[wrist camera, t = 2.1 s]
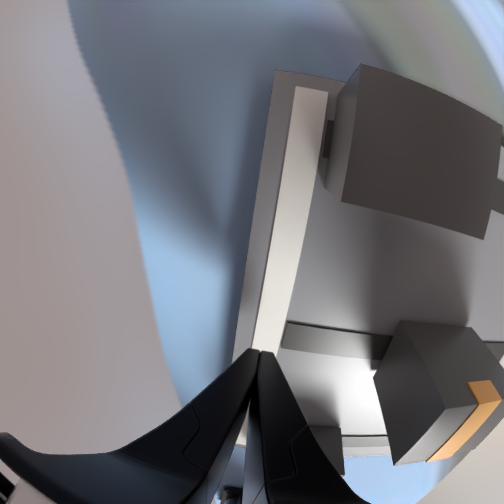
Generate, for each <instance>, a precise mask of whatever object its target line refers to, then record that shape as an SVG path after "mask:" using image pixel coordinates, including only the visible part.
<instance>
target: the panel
mask: <svg viewBox="0 0 504 504" xmlns="http://www.w3.org/2000/svg"><path fill="white" fill-rule="evenodd" d="M501 140H502V126H501V125H500V124H498V123H497V122H495V121H494V120H492V119H490V118H489V117H487V116H485V115H484V114H482V113H480V112H478V111H476V110H475V109H473V108H471V107H469V106H467V105H465V104H464V103H462V102H460V101H458V100H456V99H454V98H452V97H450V96H447V95H445V94H443V93H441V92H439V91H437V90H434V89H432V88H430V87H427V86H425V85H422V84H420V83H418V82H415V81H412V80H410V79H407V78H404V77H402V76H399V75H396V74H393V73H390V72H387V71H384V70H381V69H378V68H374V67H371V66H367V65H364V64H360V65H359V67H358V68H357V69H356V71H355V72H354V73H353V75H352V76H351V77H350V79H349V80H348V81H347V83H346V82H341V81H337V80H333V79H328V78H323V77H318V76H313V75H307V74H301V73H295V72H288V71H281V70H275V74H274V80H273V87H272V93H271V100H270V106H269V113H268V119H267V126H266V133H265V139H264V146H263V152H262V159H261V166H260V173H259V179H258V186H257V193H256V199H255V206H254V213H253V220H252V227H251V233H250V240H249V247H248V254H247V261H246V268H245V274H244V281H243V288H242V295H241V302H240V309H239V316H238V323H237V330H236V337H235V344H234V351H233V358H232V363H233V362H234V361H235V360H236V359H237V358H238V357H239V356H240V355H241V354H242V353H243V352H244V351H245V350H246V349H247V348H253V349H258V350H260V352H261V351H262V350H264V351H270V352H273V353H274V355H275V357H276V359H277V361H278V363H279V365H280V367H281V369H282V372H283V374H284V376H285V378H286V380H287V382H288V384H289V386H290V388H291V390H292V392H293V394H294V396H295V398H296V400H297V402H298V404H299V406H300V408H301V410H302V412H303V414H304V416H305V418H306V420H307V422H308V425H309V426H310V428H311V430H312V432H313V434H314V436H315V438H316V440H317V441H318V443H319V445H320V447H321V448H322V450H323V451H324V453H325V454H326V456H327V457H328V459H329V460H330V461H331V463H332V464H333V466H334V467H335V468H336V470H337V471H338V472H339V474H340V475H341V476H342V477H343V476H344V475H345V471H344V458H343V457H358V456H380V455H391V450H390V446H389V441H388V437H387V432H386V428H385V424H384V419H383V415H382V411H381V407H380V403H379V400H378V396H377V392H376V388H375V385H374V381H373V376H374V374H375V373H376V371H377V369H378V367H379V365H380V363H381V361H382V359H383V357H384V355H385V353H386V351H387V349H388V347H389V345H390V343H391V341H392V338H393V336H394V334H395V332H396V330H397V327H398V325H399V323H400V320H405V321H413V322H422V323H432V324H441V325H452V326H463V327H472V328H473V329H474V331H475V332H476V333H477V334H478V336H479V337H480V338H481V339H482V341H483V342H484V343H485V344H486V346H487V347H488V348H489V349H490V351H491V352H492V353H493V355H494V356H495V357H496V359H497V360H498V361H499V363H500V364H501V366H502V367H503V368H504V147H502V146H501ZM249 404H250V403H249ZM248 410H249V408H248ZM247 421H248V411H247V414H246V417H245V420H244V423H243V425H242V428H241V431H240V433H239V436H238V438H237V441H236V444H235V446H239V447H244V448H246V437H247Z"/></svg>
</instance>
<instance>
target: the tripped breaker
mask: <svg viewBox="0 0 504 504" xmlns="http://www.w3.org/2000/svg"><path fill="white" fill-rule="evenodd" d="M373 381H374V385H375V388H376V392H377V396H378V400H379V403H380V407H381V411H382V415H383V419H384V424H385V428H386V432H387V437H388V441H389V446H390V450H391V455H392V460H393V465H402V464H410V463H416V462H422V461H426V462H431V461H436V460H441V459H445V458H449V457H451V456H452V455H455V454H459V453H463V452H466V451H470V450H473V449H475V448H476V447H477V446H478V445H479V444H480V443H481V442H482V441H483V440H484V439H485V438H486V437H487V436H488V435H489V433H490V432H491V431H492V430H493V429H494V428H495V427H496V426H497V425H498V423H499V422H500V421H501V420H502V419H503V418H504V368H503V367H502V366H501V364H500V363H499V361H498V360H497V359H496V357H495V356H494V355H493V353H492V352H491V351H490V349H489V348H488V347H487V346H486V344H485V343H484V342H483V341H482V339H481V338H480V337H479V336H478V334H477V333H476V332H475V331H474V329H473V328H472V327H463V326H452V325H441V324H432V323H422V322H413V321H405V320H400V323H399V325H398V327H397V330H396V332H395V334H394V336H393V338H392V341H391V343H390V345H389V347H388V349H387V351H386V353H385V355H384V357H383V359H382V361H381V363H380V365H379V367H378V369H377V371H376V373H375V374H374V376H373Z"/></svg>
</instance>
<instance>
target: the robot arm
mask: <svg viewBox="0 0 504 504" xmlns="http://www.w3.org/2000/svg"><path fill="white" fill-rule="evenodd" d="M249 403H250V404H249ZM248 408H249V410H248ZM247 411H248V421H247V437H246V452H245V468H244V483H243V490H241V489H235V488H229V487H225V488H224V490H223V494H222V499H221V503H220V504H371V503H369V502H367V501H365V500H363V499H362V498H360V497H359V496H358V495H356V494H355V493H354V492H353V491H352V489H351V488H350V487H349V486H348V484H347V483H346V482H345V480H344V479H343V478H342V476H341V475H340V474H339V472H338V471H337V470H336V468H335V467H334V466H333V464H332V463H331V461H330V460H329V459H328V457H327V456H326V454H325V453H324V451H323V450H322V448H321V447H320V445H319V443H318V441H317V440H316V438H315V436H314V434H313V432H312V430H311V428H310V426H309V425H308V422H307V420H306V418H305V416H304V414H303V412H302V410H301V408H300V406H299V404H298V402H297V400H296V398H295V396H294V394H293V392H292V390H291V388H290V386H289V384H288V382H287V380H286V378H285V376H284V374H283V372H282V369H281V367H280V365H279V363H278V361H277V359H276V357H275V355H274V353H273V352H270V351H264V350H262V351H261V352H260V350H258V349H253V348H247V349H246V350H245V351H244V352H243V353H242V354H241V355H240V356H239V357H238V358H237V359H236V360H235V361H234V362H233V363H232V364H231V365H230V366H229V367H228V368H227V369H225V370H224V371H223V372H222V373H221V374H220V375H219V376H218V377H217V378H216V379H215V380H214V381H213V382H212V383H210V384H209V385H208V386H207V387H206V388H205V389H204V390H203V391H202V392H201V393H199V394H198V395H197V396H196V397H195V398H194V399H193V400H192V401H191V402H190V403H188V404H187V405H186V406H185V407H184V408H182V409H181V410H180V411H179V412H178V413H176V414H175V415H174V416H173V417H171V418H170V419H169V420H167V421H166V422H164V423H163V424H161V425H160V426H158V427H157V428H155V429H153V430H152V431H150V432H149V433H147V434H145V435H143V436H142V437H140V438H138V439H136V440H135V441H133V442H131V443H129V444H128V445H126V446H124V447H122V448H120V449H117V450H115V451H111V452H107V453H98V454H76V455H55V454H43V453H39V452H36V451H33V450H31V449H29V448H27V447H26V446H24V445H23V444H22V443H20V442H19V441H18V440H17V439H16V438H15V437H13V436H12V435H10V434H9V433H6V432H3V433H0V459H1V460H2V461H3V462H4V463H5V464H6V465H7V466H8V467H9V468H10V469H11V470H12V471H13V472H14V473H15V474H17V475H18V476H19V477H20V480H19V481H18V483H17V484H16V486H15V485H14V484H13V483H12V482H11V481H10V480H9V479H7V478H6V477H5V476H4V475H3V474H2V473H1V472H0V504H211V502H212V500H213V497H214V495H215V493H216V490H217V488H218V486H219V483H220V481H221V478H222V476H223V474H224V471H225V469H226V466H227V464H228V461H229V459H230V456H231V454H232V451H233V449H234V446H235V444H236V441H237V438H238V436H239V433H240V431H241V428H242V425H243V423H244V420H245V417H246V414H247Z"/></svg>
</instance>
